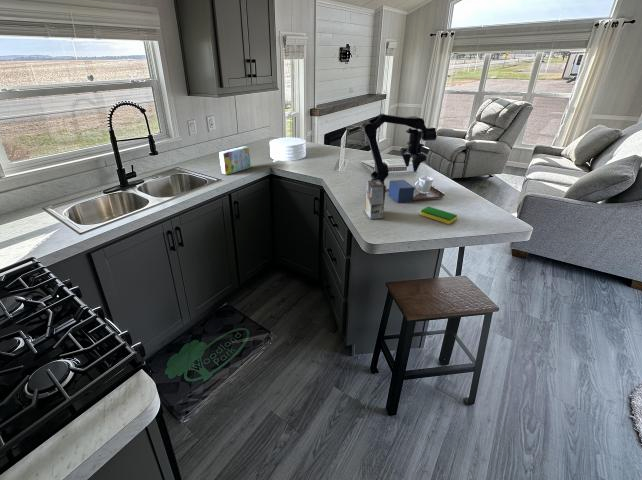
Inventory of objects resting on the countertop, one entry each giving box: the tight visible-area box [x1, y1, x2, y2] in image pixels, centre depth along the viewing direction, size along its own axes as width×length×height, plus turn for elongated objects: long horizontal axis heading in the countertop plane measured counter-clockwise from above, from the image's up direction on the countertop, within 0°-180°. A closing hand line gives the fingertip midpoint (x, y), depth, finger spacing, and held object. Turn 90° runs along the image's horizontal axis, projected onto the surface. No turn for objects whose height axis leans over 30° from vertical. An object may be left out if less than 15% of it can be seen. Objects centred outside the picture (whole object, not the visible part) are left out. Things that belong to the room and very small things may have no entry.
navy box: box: [388, 179, 446, 204], centre depth 173 cm, size 25×13×8 cm, turn 97°
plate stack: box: [269, 136, 307, 162], centre depth 255 cm, size 28×28×12 cm
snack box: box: [218, 145, 252, 176], centre depth 223 cm, size 21×6×15 cm, turn 134°
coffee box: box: [364, 179, 387, 220], centre depth 153 cm, size 9×6×16 cm
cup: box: [413, 175, 434, 194], centre depth 173 cm, size 7×10×8 cm
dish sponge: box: [419, 205, 458, 225], centre depth 152 cm, size 7×14×2 cm, turn 41°
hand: (411, 169), depth 180 cm, fingers open, 9 cm apart
